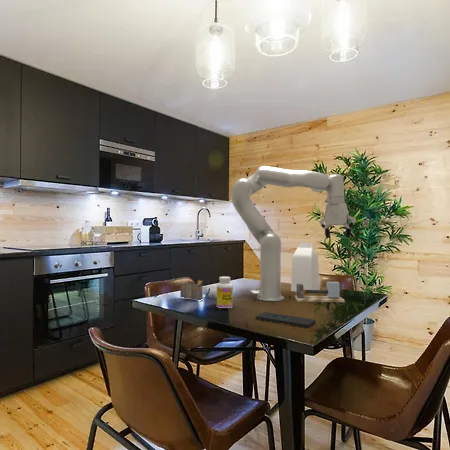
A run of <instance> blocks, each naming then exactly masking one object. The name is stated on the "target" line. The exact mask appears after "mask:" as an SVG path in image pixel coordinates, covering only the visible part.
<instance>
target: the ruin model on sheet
mask: <svg viewBox="0 0 450 450" xmlns="http://www.w3.org/2000/svg"><path fill="white" fill-rule="evenodd" d="M179 296H180V297H184V298H191V299H197V300H201V299H202V300H203V280H197V284H196V283H189V282H188V283H185V282H181V283H180V295H179Z"/></svg>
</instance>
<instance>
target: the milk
mask: <svg viewBox="0 0 450 450" xmlns="http://www.w3.org/2000/svg"><path fill="white" fill-rule="evenodd" d="M313 246H314V245H313V244H312V242H299V244H298V246H297V247H296V250H295V251H294V253H293V255H292V260H291V261H292V263H291V277H290V278H291V279H290V292H292V291H295V293H297V284H302V285H303V289H305V290H321V286H320V284H321V283H320V266H319V255H318V253H317V252H316V250H315V248H314V247H313ZM310 294H312V295H313V294H314V293H310Z"/></svg>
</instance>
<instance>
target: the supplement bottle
mask: <svg viewBox="0 0 450 450" xmlns="http://www.w3.org/2000/svg"><path fill="white" fill-rule="evenodd" d="M218 281H219V283H217V284H216V308H217V307H218V308H231V309H233V303H234V302H233V300H234V298H233V296H234V293H233V289H234V285H233V284H232V283H231V277H230V276H219V278H218ZM218 308H217V309H218Z"/></svg>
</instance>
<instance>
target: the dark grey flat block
mask: <svg viewBox="0 0 450 450" xmlns="http://www.w3.org/2000/svg"><path fill="white" fill-rule="evenodd" d="M256 318H257V319H261V320H260V321H262V320H266V321H265V322H268V321H272V322H271V323H274V322H278V323H277V324H279V323H284V324H283V325H285V324H289V325H288V326H291V325H294V326H293V327H297V326H299V327H298V328H302V327H304V329H308V327H309V328H310V327H311V326H314V325H315V324H316V323H317V321H316V319H313V318H306V317H301V316H294V315H293V316H292V315H288V314H280V313H274V312H267V311H265V312H264V311H263V312H262V313H260V314H256V315H255V319H256ZM257 319H256V320H257ZM313 324H314V325H313Z"/></svg>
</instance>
